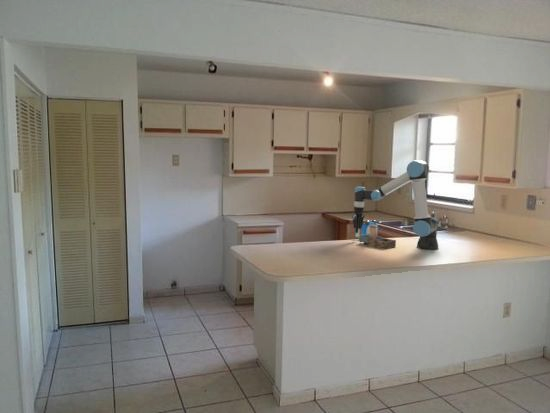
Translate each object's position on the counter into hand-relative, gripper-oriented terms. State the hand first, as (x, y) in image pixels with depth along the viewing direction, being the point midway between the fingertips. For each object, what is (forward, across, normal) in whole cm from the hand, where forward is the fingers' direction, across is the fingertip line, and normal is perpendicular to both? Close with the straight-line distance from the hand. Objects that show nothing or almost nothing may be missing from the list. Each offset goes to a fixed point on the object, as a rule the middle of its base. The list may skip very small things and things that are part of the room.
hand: (357, 236), depth 357 cm
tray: (+2, 0, +14) cm, 14 cm away
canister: (+1, 0, +14) cm, 14 cm away
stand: (+4, 0, +21) cm, 22 cm away
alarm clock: (+4, -22, -4) cm, 23 cm away
